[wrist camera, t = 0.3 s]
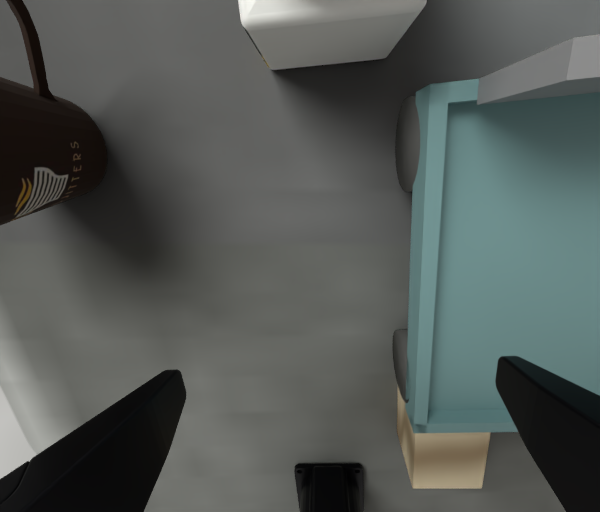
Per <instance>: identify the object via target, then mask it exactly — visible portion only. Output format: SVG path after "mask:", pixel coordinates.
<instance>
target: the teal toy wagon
mask: <svg viewBox="0 0 600 512" xmlns="http://www.w3.org/2000/svg"><path fill="white" fill-rule="evenodd" d="M395 153H396V168H397V174H398V179H399V183H400V185H401V187H402V189H403V190H404V191H405V192H411V191H413V192H412V222H411V252H410V282H409V311H408V329H402V330H395V331H394V335H393V360H394V368H395V374H396V379H397V384H398V387H399V391H400V394H401V396H402V399H403V400H404V402H405V409H406V412H407V415H408V418H409V421H410V424H411V427H412V430H413V433H477V432H518V430H517V428H516V426H515V424H514V422H513V420H512V418H511V416H510V414H509V412H508V410H507V408H506V406H505V404H504V402H503V400H502V399H501V397H500V395H499V393H498V390H497V388H496V383H495V379H496V372H497V364H498V359H499V358H500V357H501V356H519V357H521V358H523V359H525V360H527V361H529V362H531V363H533V364H535V365H537V366H539V367H542V368H544V369H546V370H548V371H550V372H552V373H554V374H556V375H558V376H560V377H562V378H564V379H566V380H568V381H570V382H573V383H575V384H577V385H579V386H581V387H583V388H585V389H587V390H589V391H591V392H593V393H595V394H597V395H599V396H600V34H599V35H591V36H582V37H574V38H572V39H569V40H567V41H565V42H562V43H560V44H558V45H555V46H553V47H551V48H549V49H546V50H544V51H542V52H539V53H537V54H535V55H532V56H530V57H528V58H526V59H523V60H521V61H519V62H516V63H514V64H512V65H509V66H507V67H505V68H502V69H500V70H498V71H496V72H493V73H491V74H489V75H486V76H484V77H482V78H479V79H471V80H462V81H453V82H444V83H435V84H429V85H428V86H426V87H424V88H422V89H421V90H419V91H417V92H416V96H410V97H407V98H406V99H405V100H404V102H403V104H402V106H401V109H400V113H399V117H398V123H397V130H396V146H395Z"/></svg>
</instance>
